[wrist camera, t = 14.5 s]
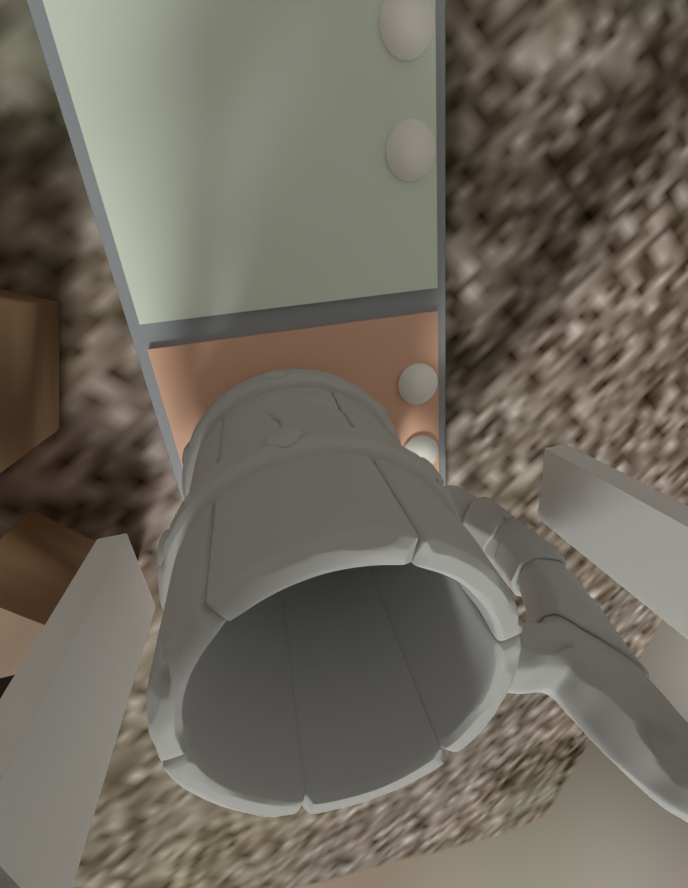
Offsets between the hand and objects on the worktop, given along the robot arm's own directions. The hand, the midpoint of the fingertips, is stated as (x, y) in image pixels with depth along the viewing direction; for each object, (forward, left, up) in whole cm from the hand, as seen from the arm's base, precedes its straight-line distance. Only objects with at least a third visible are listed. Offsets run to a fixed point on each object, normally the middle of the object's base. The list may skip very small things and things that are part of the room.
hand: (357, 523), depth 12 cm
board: (-6, 0, -5) cm, 8 cm away
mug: (0, 0, -4) cm, 4 cm away
